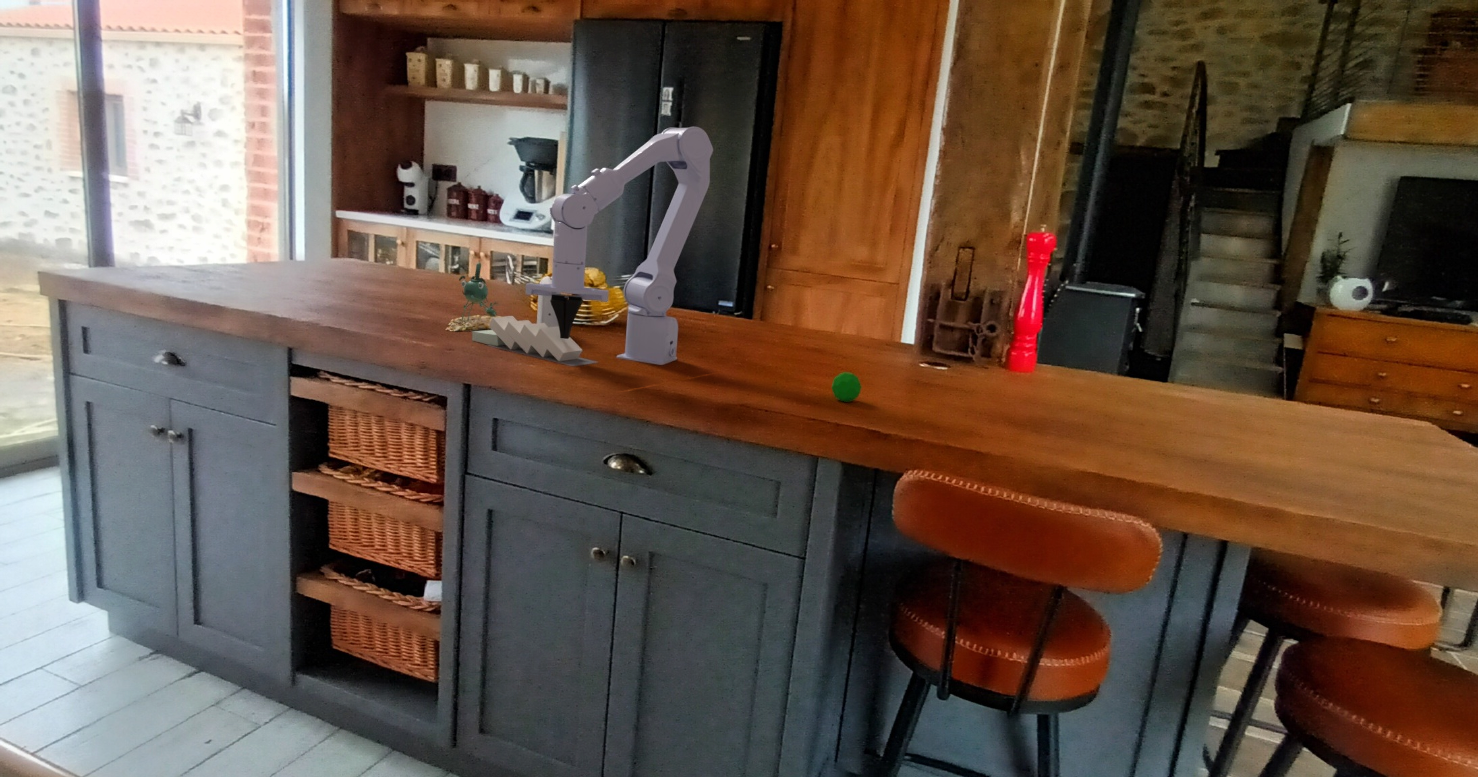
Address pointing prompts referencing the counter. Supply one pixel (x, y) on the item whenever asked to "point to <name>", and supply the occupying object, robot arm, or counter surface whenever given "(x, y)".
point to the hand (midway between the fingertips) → (564, 337)
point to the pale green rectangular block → (487, 337)
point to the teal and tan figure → (475, 294)
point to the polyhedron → (846, 387)
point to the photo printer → (546, 307)
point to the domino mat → (551, 358)
